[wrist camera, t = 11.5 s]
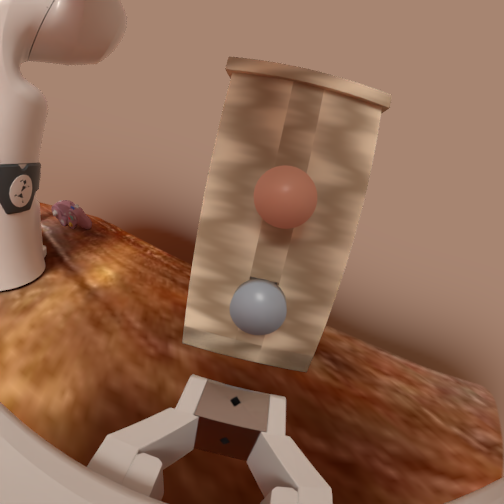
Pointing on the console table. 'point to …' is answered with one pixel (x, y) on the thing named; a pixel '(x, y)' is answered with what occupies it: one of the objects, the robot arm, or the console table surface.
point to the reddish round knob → (285, 197)
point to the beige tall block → (265, 235)
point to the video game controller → (71, 215)
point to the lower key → (258, 306)
